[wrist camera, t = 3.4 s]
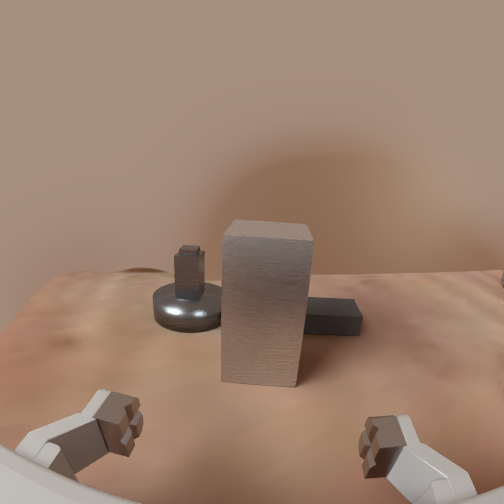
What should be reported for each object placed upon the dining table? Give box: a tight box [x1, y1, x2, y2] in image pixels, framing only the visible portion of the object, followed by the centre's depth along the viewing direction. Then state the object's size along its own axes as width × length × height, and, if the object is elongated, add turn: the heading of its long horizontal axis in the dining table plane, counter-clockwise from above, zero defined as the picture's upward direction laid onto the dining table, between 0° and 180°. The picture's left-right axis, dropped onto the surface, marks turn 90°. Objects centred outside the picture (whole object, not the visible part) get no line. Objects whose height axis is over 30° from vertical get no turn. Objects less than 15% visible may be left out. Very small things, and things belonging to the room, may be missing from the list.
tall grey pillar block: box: [221, 220, 314, 387], centre depth 21 cm, size 5×5×10 cm
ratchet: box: [153, 245, 363, 335], centre depth 29 cm, size 19×7×6 cm, turn 85°
